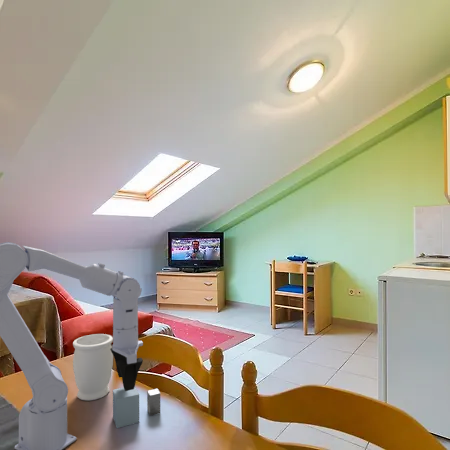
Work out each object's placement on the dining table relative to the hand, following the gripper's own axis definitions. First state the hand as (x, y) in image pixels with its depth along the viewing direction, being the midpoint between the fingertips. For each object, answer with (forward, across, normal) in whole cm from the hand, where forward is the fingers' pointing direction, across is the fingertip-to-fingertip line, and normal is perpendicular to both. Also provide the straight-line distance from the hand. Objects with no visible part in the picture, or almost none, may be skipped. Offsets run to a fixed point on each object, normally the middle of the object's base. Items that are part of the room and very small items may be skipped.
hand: (126, 382), depth 80 cm
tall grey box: (+9, 0, 0) cm, 9 cm away
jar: (+9, +17, +6) cm, 20 cm away
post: (+9, 0, -7) cm, 11 cm away
